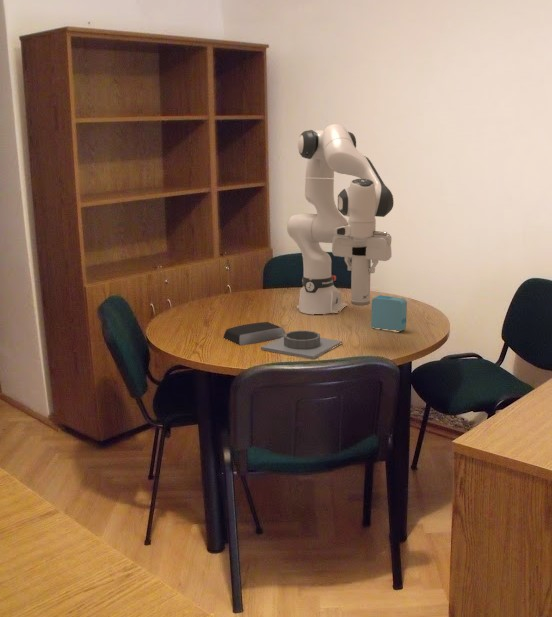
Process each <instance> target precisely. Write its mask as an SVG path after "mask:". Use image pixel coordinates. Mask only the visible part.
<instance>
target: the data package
mask: <svg viewBox="0 0 552 617" xmlns="http://www.w3.org/2000/svg"><path fill="white" fill-rule="evenodd" d="M407 304H408V302H407V300H406V299H405V298H403V297H397V296H389V295H377V296H374V297H373V298H372V299H371V310H370V311H371V319H370V326H371V328H372V327H374V328H380V329H388V330H396V331H401V332H403V331H404V330H406V329H407V314H408V312H407V310H408V308H407V307H408V305H407ZM403 329H404V330H403ZM402 330H403V331H402Z"/></svg>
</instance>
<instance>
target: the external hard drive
mask: <svg viewBox="0 0 552 617" xmlns="http://www.w3.org/2000/svg"><path fill="white" fill-rule="evenodd" d="M285 333H286V331H285V329H284V327H281V326H279V325H277V324H274V323H272V322H269V321H263V322H262V321H261V322H253V323H247V324H243V325H237V326H233V327H230V328H226V330H225V332H224V335H223V338H222V339H224V338H225V340H227V339H228V340H227V341H229V340H230V341H229V342H231V341H232V342H231V343H233V342H234V343H233V344H235V343H236V344H235V345H237V344H238V346H239V347H240V346H246V345H252V344H253V345H254V344H259V343H265V342H270V341H275V340H277V339H280V338H282V337H284V334H285Z"/></svg>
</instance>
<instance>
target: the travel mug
mask: <svg viewBox="0 0 552 617" xmlns="http://www.w3.org/2000/svg"><path fill="white" fill-rule="evenodd" d="M351 264H352V270H351V276H350V278H351V279H350V281H351V282H350V283H351V285H350V304H351V305H354V306H358V307H360V306H361V307H363V306H369V304H370V302H371V273H369V268H370V267H372V265H371V264H372V260H369V259H366V247H359V248H354V247H352V258H351Z"/></svg>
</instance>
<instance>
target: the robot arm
mask: <svg viewBox="0 0 552 617" xmlns="http://www.w3.org/2000/svg"><path fill="white" fill-rule="evenodd" d="M356 138H357V137H356V136H355V134H354V133H353V132H350V131H348V130H347V128H346V127H345V126H343V125H341V124H340V123H339V124H338V123H333V124H330V125H327V127H325V128H324V129H319V130H316V129H315V130H313V129H309V130H305V131H303V132H302V133H301V134H300V135H299V138H298V142H297V148H298V153H299V155H300V157H301V158H304V159H307V162H306V167H305V182H304V198H305V200H307V202H308V203H310V204H311V205H313V206H314V207H315V210H316V213H298V214H292V215H291V216H290V218H289V219H288V221H287V223H286V224H287V225H286V230H287V234H288V236H289V237H290V238H291V239H292V240H293V241H294V242H295V243H296V244H297V247H298V248H299V250H300V253H301V256H302V264H303V265H302V266H303V276H302V279H301V282H302V287H301V288H300V289H299V299H298V300H299V301H298V304H297V305H296V309H297V310H299V312H301V313H302V314H308V315H314V314H323V315H326V314H325V313H335V312H338V311H340V310H341V309H342V308H343V307H344V306H346V305H347V306H348V304H347V303H346V302H343V301H342V293H341V291H340V290H339V289H338V288H337V287H336V286H335V285H334V282H335V281H336V280H337V276H336V275H332V257H331V256H330V254H329V253H328V252H326V251H324V250H323V248H322V247H321V245H320V243H325V244H332V245H331V253H332V256H334V257H341V258H344V262H345V264H346V266H347V271H349V272H350V271H351V270H352V247H354V248H359V247H366V259H369V260H371V264H372V265H371V267H370V268H369V273H370V274H375V273H376V272H375V271H376V267H377V265H378V264H379V262H380V261H381V262H387V261H389V260H391V258H392V236H391V235H390V234H389V233H388V232H387V231H378V230H376V229H377V228H376V226H377V225H376V224H377V223H376V222H377V221H376V217H383V218H384V217H386V216H387V215H388V214H389V213H390V212H391V211H392V210H393V208H394V195H393V193H392V191H391V190H390V189H389V188H388V186H386V184H385V183H384V181H383V180H382V178H381V176H380V174H379V173H378V170H377V169H376V168H375V166H374V164H373V162H372V161H371V160H370V159H369V157H367V156H365V155H364V154H362V153H361V152H360V151H359V150H358V149H357V139H356ZM335 172H336V173H337V174H340V175H347V176H353V177H356V179H353V180H351V181H350V184H349V186H348V187H346V188H343V189H342V190H341V191H340V192H339V194H337V205H336V201H335V192H334V190H335V189H334V182H335V180H334V179H335ZM345 217H348V220H347V219H346V218H345ZM341 302H343V303H341ZM340 312H341V311H340Z"/></svg>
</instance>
